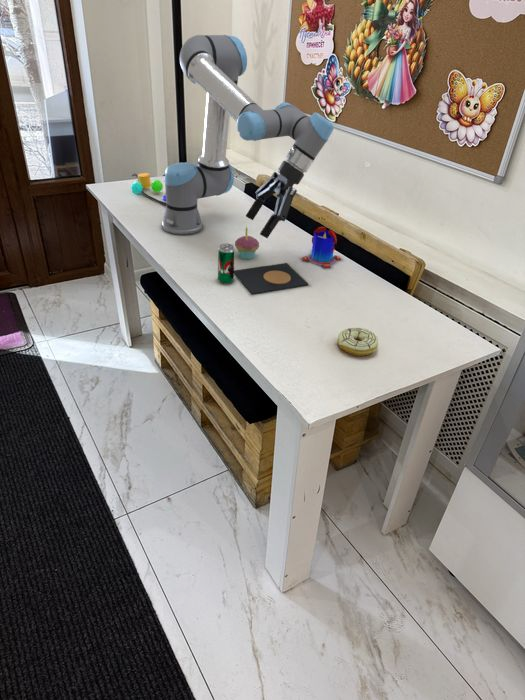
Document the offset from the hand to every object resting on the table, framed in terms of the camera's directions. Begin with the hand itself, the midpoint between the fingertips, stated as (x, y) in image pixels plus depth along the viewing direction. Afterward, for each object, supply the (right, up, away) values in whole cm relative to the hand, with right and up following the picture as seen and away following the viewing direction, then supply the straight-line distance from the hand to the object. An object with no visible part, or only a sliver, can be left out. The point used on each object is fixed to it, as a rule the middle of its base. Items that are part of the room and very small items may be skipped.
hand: (256, 226), depth 158 cm
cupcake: (-4, -5, +22) cm, 23 cm away
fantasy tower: (+23, -6, +24) cm, 34 cm away
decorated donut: (+28, -38, -20) cm, 51 cm away
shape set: (-38, +30, +67) cm, 83 cm away
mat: (+5, -15, +9) cm, 18 cm away
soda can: (-10, -16, +6) cm, 20 cm away
